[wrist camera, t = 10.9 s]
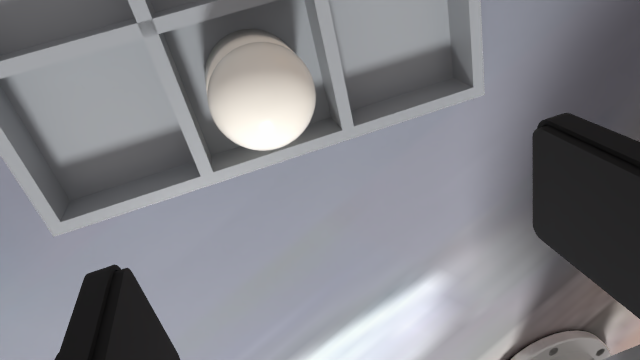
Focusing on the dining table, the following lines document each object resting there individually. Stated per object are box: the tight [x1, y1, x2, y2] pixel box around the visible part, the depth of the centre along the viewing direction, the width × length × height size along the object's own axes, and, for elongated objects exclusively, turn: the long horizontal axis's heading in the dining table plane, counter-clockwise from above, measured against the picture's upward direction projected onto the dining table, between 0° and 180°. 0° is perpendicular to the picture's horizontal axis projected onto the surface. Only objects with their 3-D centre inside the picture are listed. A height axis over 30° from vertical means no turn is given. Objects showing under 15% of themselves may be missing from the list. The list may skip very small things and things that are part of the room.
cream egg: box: [205, 29, 316, 151], centre depth 19 cm, size 4×4×6 cm
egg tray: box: [0, 0, 485, 237], centre depth 19 cm, size 15×22×2 cm
